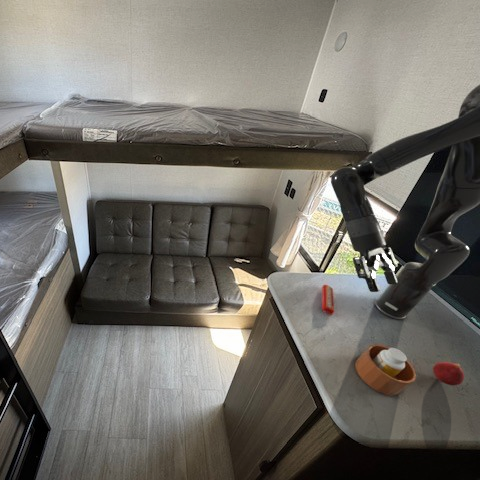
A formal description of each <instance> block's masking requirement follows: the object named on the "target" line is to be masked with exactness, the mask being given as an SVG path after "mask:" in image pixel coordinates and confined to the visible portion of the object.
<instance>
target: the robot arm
mask: <svg viewBox="0 0 480 480" xmlns="http://www.w3.org/2000/svg"><path fill="white" fill-rule="evenodd" d="M448 148H450V150H449V154H448V157H447V160H446V163H445V167H444V169H443V173H442V175H441V177H440V180H439V182H438V185H437V188H436V192H435V196H434V197H433V202H432V204H431V207H430V209H429V212H428V215H427V217H426V219H425V221H424V223H423V225H422V227H421V229H420V231H419V233H418V235H417V238H416V239H415V243H414V248H415V251H417V252H418V254H420V255H421V256H422V257H423V258H424V259H426V260H425V261H424V262H423V263H422V262H417V261H409V262H407V263H405V264H404V265H403V267H402V268H401V269H400V270H399V272H398V273H397V274H396V273H395V270H396V268H397V267H398V263H397V260H396V258H395V255H394V253H393V250H392V248H391V247H390V246H388V247H386V246H387V242H386V241H387V240H386V238H385V236H384V234H383V231H382V228H381V226H380V223H379V221H378V219H377V217H376V215H375V212H374V209H373V207H372V203H371V202H370V200H369V199H368V196H367V193H366V189H365V186H366V185H367V184H369V183H371V182H373V181H374V180H377V179H379V178H380V177H383V176H386V175H388V174H390V173H392V172H394V171H397V170H399V169H401V168H403V167H405V166H407V165H409V164H411V163H413V162H416V161H418V160H420V159H422V158H425V157H427V156H430V155H432V154H434V153H437V152H440V151H443V150H446V149H448ZM330 184H331V187H332V189H333V192H334V194H335V197H336V199H337V201H338V204H339V207H340V211H341V214H342V218H343V220H344V223H345V229H346V232H347V235H348V238H349V240H350V243H351V246H352V249H353V251H354V252H357V253H359V256H354V257H352V262H353V265H354V269H355V271H356V276H357V278H358V279H364V280H365V282H366V285H367V289H368V290H369V292H370V293H377V292H380V291H381V289H380V286H379V284H378V281H377V278H376V272H377V271H378V270H379V268H380V269H381V270H382V271H383V275H384V278H385V280H386V283H387V287H386V288H385V289H384V290H383V292H382V293H381V294H380V296H379V297H378V298H377V299H376V300H375V301H374V305H375V307H376V309H377V310H378V311H379V312H380V313H382V314H383V315H385V316H387V317H389V318H391V319H395V320H404V319H405V318H406V317H407V316H408V315H409V314H410V313H411V312H412V310H413V309H415V307H416V306H417V305H418V304H419V303H420V302H421V301H422V300H423V299H424V297H425V296H426V295H427V294H428V293H429V292H430V291H431V290H432V289H433V288H434V287H435V286H436V285H437V284H438V283H439V282H440V281H442V280H444V279H446V278H447V277H448V276H450V274H452V273H453V272H454V271H455V270H456V269H457V268H458V267H460V266H461V265H462V264H463V263H464V262H465V261H466V260H467V258H468V257H469V255H470V253H471V249H470V247H469V246H468V245H467V244H466V243H464V242H463V241H461V240H460V239H459V238H456V237H455V236H454V235H452V230H453V226H454V224H455V222H456V221H457V219H458V218H459V217H460V216H462V215H464V214H466V213H467V212H469V211H471V210H472V209H474V208H476V207H477V206H479V205H480V84H478V85H477V86H475V87H474V88H473V89H472V90H471V91H470V92H468V93H467V95H466V96H465V98H464V99H463V101H462V103H461V105H460V108H459V112H458V116H457V118H455V119H453V120H450V121H448V122H445V123H444V124H441V125H438V126H435V127H432V128H429V129H426V130H422V131H420V132H417V133H413V134H409V135H407V136H405V137H402V138H399V139H397V140H395V141H393V142H391V143H389V144H388V145H385V146H383V147H381V148H379V149H377V150H376V151H374V152H372V153H370V154H369V155H367V156H366V157H365V158H364V159H363V160H361V161H360V162H357V163H356V164H354V165H352V166H344V167H340V168H338V169H337V170H336V171H334V173H333V174H332V175H331V178H330Z"/></svg>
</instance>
